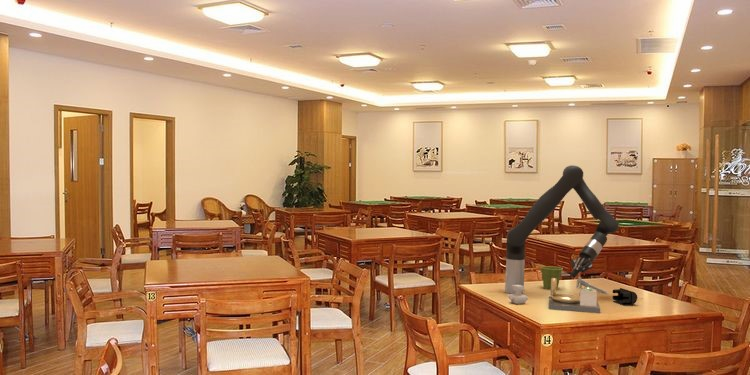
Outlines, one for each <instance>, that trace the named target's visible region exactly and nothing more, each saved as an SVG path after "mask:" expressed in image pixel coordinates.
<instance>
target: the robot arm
mask: <svg viewBox="0 0 750 375" xmlns="http://www.w3.org/2000/svg"><path fill="white" fill-rule="evenodd" d="M572 189H573V190H574V191H575V193H576V194H577V195H578V197H579V198H580V200H581V201H582V203H583V204H584V206H585V207H586V209H587V211H588V212H589V213H590V215H591V217H592V218H593V219H595V220H599V221H600V222H599V223H598V224H597V226H596V228H595V230H594V231H593V232H594V233H593V235H592V236H591V237H590V238H589V240H588V241H587V242H586V243H585V244H584V246H583V247H582V249H581V250H580V251H579V255H578V256H577V257H576V258H575V259H571V260H570V267H571V269H572V271H571V272H570V278H573V279H575V278H576V277H577V276H578V275H579V274H580V273H585V272H587V271H589V270H590V269H592V268H593V267H594V266H593V264H592V263H593V262H595V260H596V258H597V257H598V255H599V254H600V253H601V251H602V249H603V248H604V246H605V245H606V244H607V241H608V235H609V234H614V233H616V232H617V231H618V230H619V222H618V221H617V219H616V218H615V217H614V216H613V215H612V214H611V213H609V211H607V210H606V209H605V207H604V205H603V204H602V202H601V200H599V198H598V197H597V196H596V195H595V193H594V192H593V191H592V190H591V189H590V188H589V186H588V184H586V181H585V178H584V170H583V169H582V168H581V167H580V166H577V165H573V164H572V165H568V166H566V167H565V168H564V169H563V171H562V176H561V177H560V179H558V181H557V182H556V183H555V184H554V185H553V186H551V187H550V188H549V189H548V190H546V191H545V192H544V193H543V194H542V195H541V196H540V197H539V198H538V199H537V200H536V201H535V202H534V204H533V205H532V206H531V207H530V209H529V210H528V211H527V213H526V215H525V216H524V217H523V219H522V220H521V221H520V222H519V223H518V224H517V225H516V226H515V227H512V228H510V229H509V230H508V231H507V234H506V256H505V258H506V259H505V260H506V263H505V267H506V268H505V280H504V281H505V282H504V284H505V285H504V293H506V294H515V293H516V291H515V290H513V288H512V285H521V286H524V287H525V266H526V264H525V261H526V258H525V257H526V240H527V239H528V238H529V236H530V235H531V234H532V232H533V231H534V230H535V229H536V228H537V227H538V226H539V225H540V224H542V222H543V221H544V220H546V219H547V218H548V216H550V214H551V213H553V211H554V210H555V209H557V206H559V204H560V203H561V202H562V200H564V199H565V196H567V194H568V193H569V192H571V191H572ZM524 291H525V289H524V290H523V291H521V294H522V295H523V294H524Z"/></svg>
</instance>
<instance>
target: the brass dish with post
mask: <svg viewBox="0 0 750 375" xmlns="http://www.w3.org/2000/svg"><path fill="white" fill-rule="evenodd" d="M557 290H558V289H557V279H556V278H551V290H550V297H552V299H553V300H555V301H559V302H566V303H578V302H579V299H580V295H576V294H570V293H557Z"/></svg>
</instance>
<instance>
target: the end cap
mask: <svg viewBox="0 0 750 375" xmlns="http://www.w3.org/2000/svg"><path fill="white" fill-rule="evenodd" d="M612 294H617V295H612V303H615V304H618V305H620V306H624V307H629V306H630V307H632V306H633V305H634V304H636V302H637V301H638V294H637V292H634V291H632V290H629V289H626V288H623V287H619V288H618V289H617V288H616V289H612Z"/></svg>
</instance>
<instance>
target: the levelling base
mask: <svg viewBox="0 0 750 375" xmlns="http://www.w3.org/2000/svg"><path fill="white" fill-rule="evenodd" d="M597 295H598V291H597V290H596V289H593V288H590V287H585V286H583V288H582V287H581V288H579V296H580V299H579V302H578V303H566V302H559V301H555V300H553V299H552V296H548V310H558V311H568V312H569V311H571V312H581V313H593V314H594V313H595V314H601V307H600V304H599V301H598V300H597V299H598V296H597Z"/></svg>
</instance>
